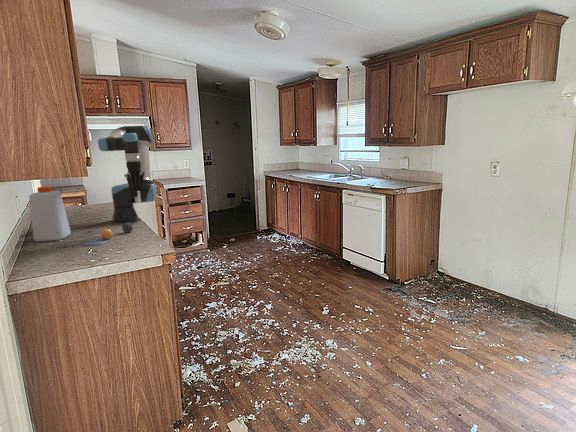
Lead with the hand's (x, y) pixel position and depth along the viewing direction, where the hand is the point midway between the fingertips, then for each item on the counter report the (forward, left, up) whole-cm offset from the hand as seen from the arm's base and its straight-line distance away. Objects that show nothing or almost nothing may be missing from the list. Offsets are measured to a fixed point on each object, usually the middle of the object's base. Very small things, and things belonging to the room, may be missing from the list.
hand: (138, 202), depth 209 cm
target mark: (+16, -27, -16) cm, 35 cm away
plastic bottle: (-13, -43, -16) cm, 48 cm away
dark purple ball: (+5, -9, -13) cm, 16 cm away
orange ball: (+12, -21, -13) cm, 27 cm away
